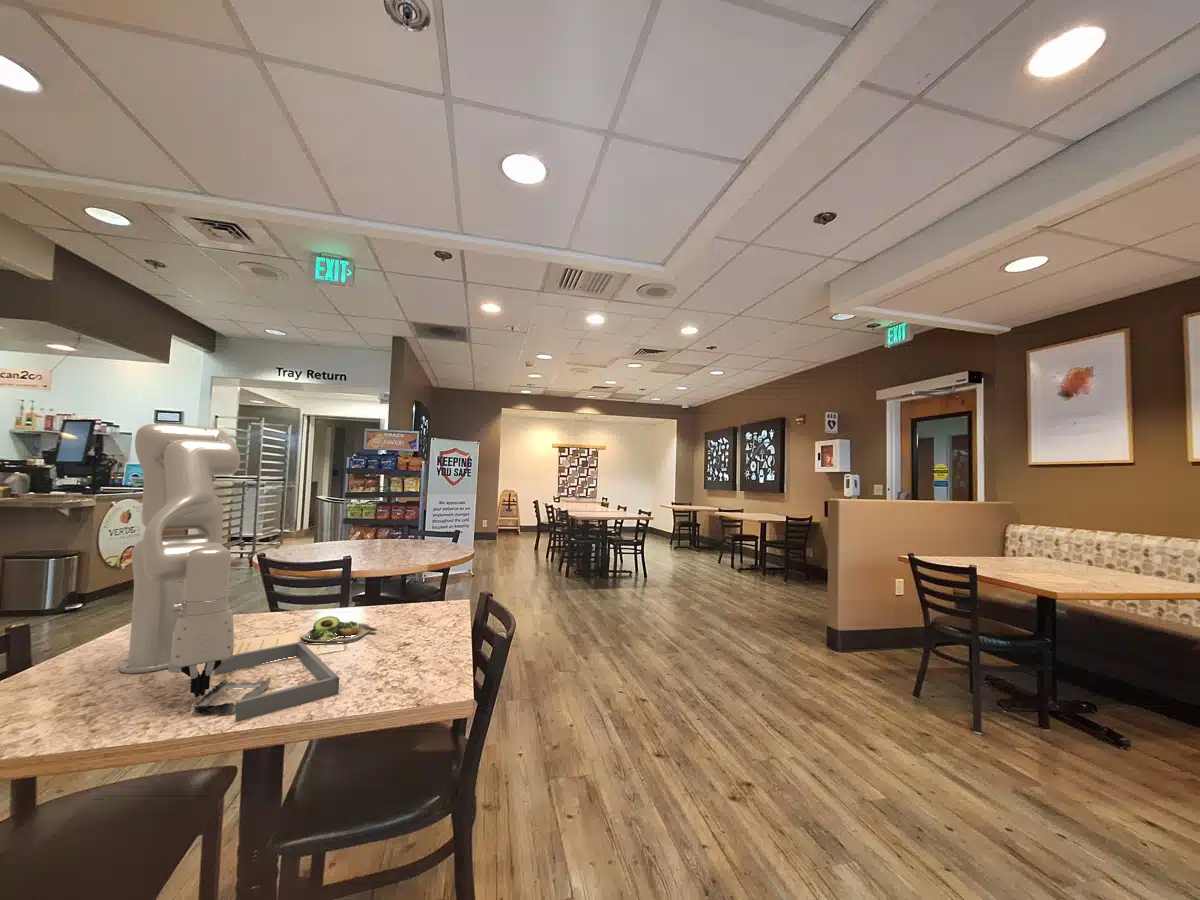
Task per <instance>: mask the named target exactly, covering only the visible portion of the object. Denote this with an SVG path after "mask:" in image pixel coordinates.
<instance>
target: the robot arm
mask: <svg viewBox="0 0 1200 900" xmlns="http://www.w3.org/2000/svg"><path fill="white" fill-rule="evenodd" d="M134 447H135V454H136V456H137V457H136V458H137V460H138V463H139V465H140V468H141V470H142V474H143V487H142V489H143V490H142V491H143V492H142V505H141V508H142V509H141V518H142V523H143V526H144V527H145V530H144V533H143V537H142V540H139V541H138V542H136V544H135V545H134V546H133V548H132V550H131V564H132V565H131V566H132V574H133V598H132V609H131V611H132V612H131V622H130V623H131V624H130V635H129V646H128V647H129V649H128V659H125V660H124V661H121V663H120V664H119V666H118V671H120V672H122V673H124V674H140V673H142V674H143V673H150V672H155V671H160V670H165V669H167V671H168V673H183V674H185V675H186V676H188V677H190V689H189V690H190V691H189V692H190V694H193V695H194V698H195V699H196V698H197V699H198V698H199V697H202V696H203V695H204V694H206V691H207V690H209V689H210V684H211V675H212V674H213V672H214V670H215V669H216V668H217V667H218V666H219V665H220V664H223V663H226V662H228V661H231V660H233V655H234V654H233V653H234V646H235V645H234V641H235V640H234V639H235V628H234V627H235V626H234V614H233V610H232V609H231V608H229V607H228V606H229V592H230V578H231V577H230V576H231V564H232V551H231V550H230V549H229V548H228V547H226V546H224V545H223V518H224V516H223V514H224V511H223V510H224V509H223V503H222V501H221V499H220V497H219V496H217V494H215V489H214V488H215V487H214V481H213V475H215V476H218V475H220V476H229V475H230V476H231V475H234V474H235V473H237V471H238V470H239V469H240V464H241V454H240V451H239V448H238V446H237V444H236V443H235V441H234V440H233V439H232V438H231V437H230V436H229V435H228V434H227V432H225V431H224V430H223V429H221V428H217V427H210V426H208V427H207V426H196V425H186V424H173V423H150V424H145V425H143V426H140V428H139V429H138V430H137V431H136V433H135V440H134ZM176 530H177V531H178V530H179V531H180V530H196V531H197V533H193V534H192V533H191V534H173V535H172V534H171V535H163V531H176ZM178 580H179V581H180V580H184V584H181V582H179V581H178ZM201 664H204V668H203V670H202V671H201V673H200V672H199V670H198V665H201Z"/></svg>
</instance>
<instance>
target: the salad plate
mask: <svg viewBox="0 0 1200 900" xmlns="http://www.w3.org/2000/svg"><path fill="white" fill-rule="evenodd" d="M376 631H378V628H376V627H371V626H370V625H369V624H368V623H363V622H362V623H358V622H357V621H353V620H351V621H350V620H349V622H347V621H346V622H344V621H340V619H339V618H338V617H337V616H333V615H332V616H331V615H328V616H324V617H321V618H319V619H318V620H315V622H314V623H313V626H312V629H311V630H309V631H308V632H306V633H303V634H302V635H301V636H300V640H301V642H303V641H304V642H307V643H337V642H348V643H350V642H349V641H352V642H354V641H353V640H356V641H358V640H360V639H359V638H361V637H362V636H363V637H364V636H366V635H367V634H369V633H371V632H376ZM335 633H336V634H337V635H336V634H335ZM365 634H366V635H365ZM351 635H356V636H354V637H352V638H350V637H348V638H340V639H335V640H330V639H333V638H336V637H338V636H344V637H345V636H351ZM309 636H310V638H309ZM363 637H362V638H363ZM362 638H361V639H362ZM357 639H358V640H357ZM327 640H330V641H327ZM304 642H303V643H304Z"/></svg>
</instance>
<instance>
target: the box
mask: <svg viewBox="0 0 1200 900" xmlns="http://www.w3.org/2000/svg"><path fill="white" fill-rule="evenodd" d="M294 656H297V657H298V658H299V659H300V660H301V661H300V660H299V659H298V658H297V657H296V658H297V659H298V660H299V661H300V662H301V664H303V666H304V667H305V666H306V667H307V670H308V671H309V672H310V673H311V675H313V677H315V678H316V681H312V682H307V683H304V684H299V685H295V686H292V687H287V688H284V689H279V690H276V691H271V692H268V693H264V694H260V695H258V696H255V697H251V698H246V699H242V698H241V699H239V700H236V702H235V705H236V712H235V716H234V717H235V718H234V719H235V722H236V721H237V722H240V721H244V720H247V719H248V720H249V719H250V718H251V719H252V718H254V717H258V716H261V715H265V714H269V713H273V712H276V711H281V710H284V709H288V708H292V707H294V706H295V707H296V706H298V705H302V704H305V703H311V702H313V701H317V700H320V699H324V698H328V697H331V696H332V697H333V696H336V695H339V693H340V691H339V690H340V688H339V687H340V677H339V676H338V675H337V673H335V672H334V671H333V670H332V669H331V668H329V666H328V665H327V664H326V663H324V662H323V660H322V659H320V658H319V656H317V654H315V653H314V652H313V651H312V650H311V649H310V648H309V647H308V646H307V645H306V643H304V642H303V641H298V642H292V643H288V644H282V645H278V646H272V647H266V648H261V649H256V650H250V651H246V652H242V653H241V652H240V653H236V654H233V660H231V661H228V662H226V663H223V664H220V665H219V666H218V667H217V668H216V669H215V670H214V671H213V672H214V673H215V674H216V675H219V674H218V673H220V674H223V673H222V672H225V673H228V672H227V671H230V672H233V671H232V670H235V671H237V670H236V669H239V670H241V669H240V668H244V669H247V668H246V667H249V668H251V667H250V666H254V667H256V666H255V665H258V666H260V665H259V664H262V663H266V662H270V661H274V660H278V659H283V658H288V657H294ZM306 667H305V668H306ZM214 673H213V674H214ZM215 674H214V675H215Z"/></svg>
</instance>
